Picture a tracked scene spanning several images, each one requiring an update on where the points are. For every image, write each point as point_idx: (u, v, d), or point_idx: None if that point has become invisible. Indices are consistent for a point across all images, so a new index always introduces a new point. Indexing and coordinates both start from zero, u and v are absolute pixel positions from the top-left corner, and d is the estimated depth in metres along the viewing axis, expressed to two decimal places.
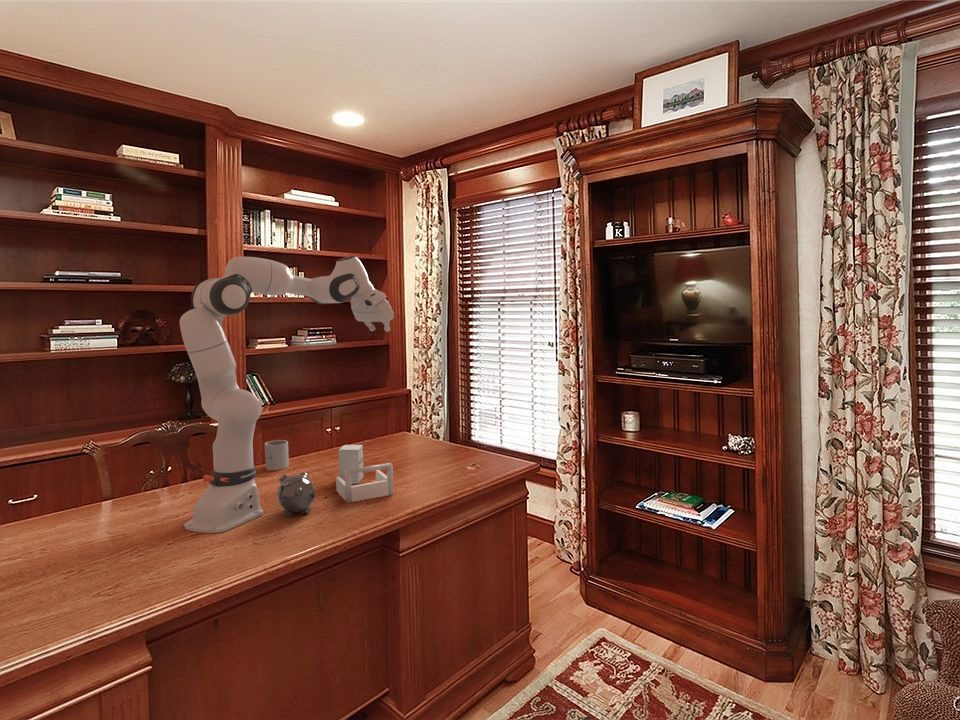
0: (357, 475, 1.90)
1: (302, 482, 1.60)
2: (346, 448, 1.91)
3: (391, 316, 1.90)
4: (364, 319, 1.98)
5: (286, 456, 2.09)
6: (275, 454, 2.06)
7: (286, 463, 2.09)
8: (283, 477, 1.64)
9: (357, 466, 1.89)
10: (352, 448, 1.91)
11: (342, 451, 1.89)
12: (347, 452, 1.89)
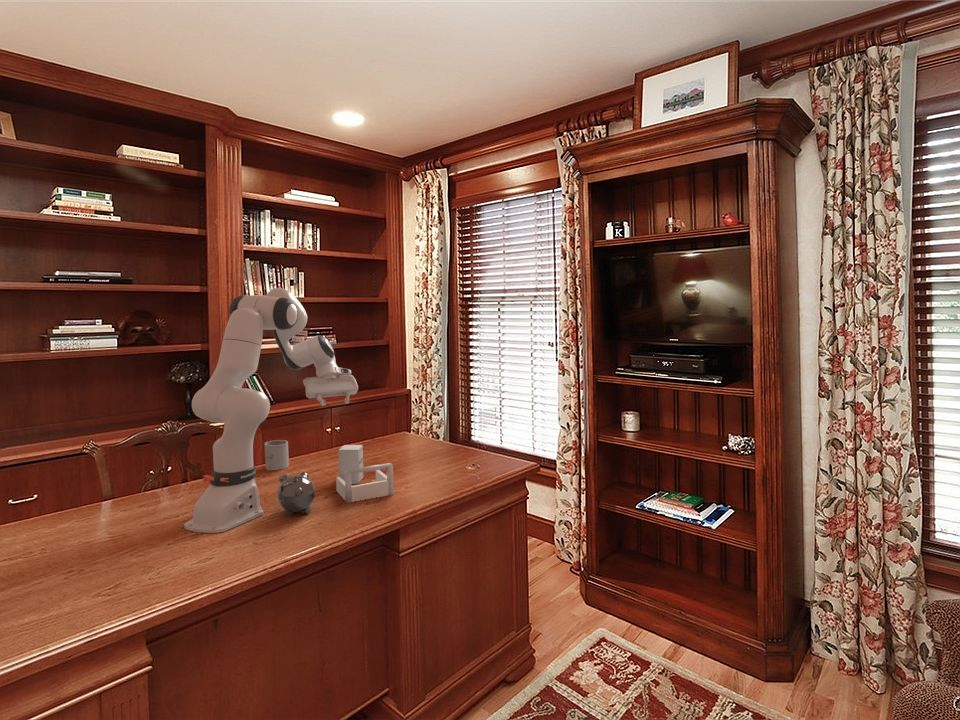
0: (357, 475, 1.90)
1: (302, 482, 1.60)
2: (346, 448, 1.91)
3: None
4: (323, 390, 2.07)
5: (286, 456, 2.09)
6: (275, 454, 2.06)
7: (286, 463, 2.09)
8: (283, 477, 1.64)
9: (357, 466, 1.89)
10: (352, 448, 1.91)
11: (342, 451, 1.89)
12: (347, 452, 1.89)
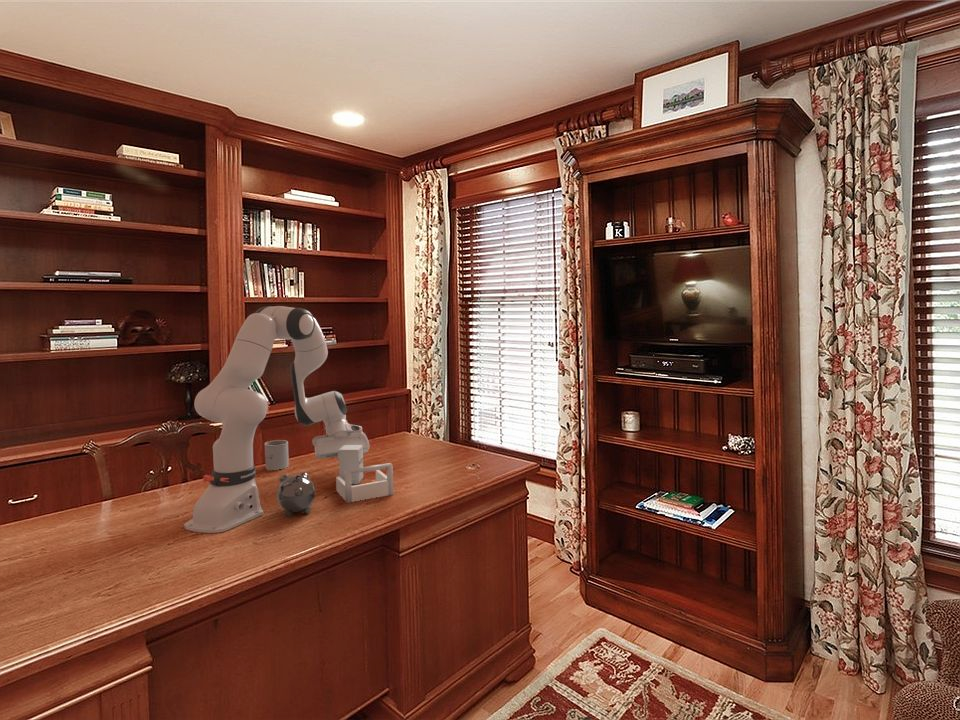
0: (357, 475, 1.90)
1: (302, 482, 1.60)
2: (346, 448, 1.91)
3: None
4: (333, 450, 1.97)
5: (286, 456, 2.09)
6: (275, 454, 2.06)
7: (286, 463, 2.09)
8: (283, 477, 1.64)
9: (357, 466, 1.89)
10: (352, 448, 1.90)
11: (342, 451, 1.89)
12: (347, 452, 1.89)
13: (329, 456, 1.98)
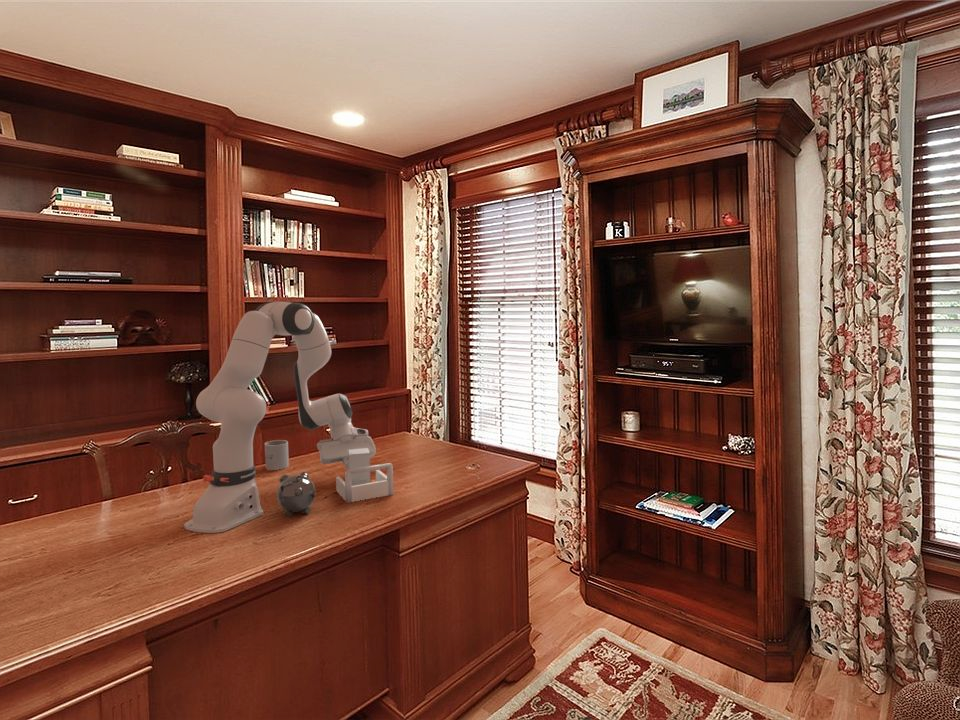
0: (369, 479, 1.85)
1: (302, 482, 1.60)
2: (356, 452, 1.85)
3: None
4: (338, 454, 1.91)
5: (286, 456, 2.09)
6: (275, 454, 2.06)
7: (286, 463, 2.09)
8: (283, 477, 1.64)
9: None
10: (362, 452, 1.85)
11: (353, 455, 1.83)
12: (358, 456, 1.83)
13: (334, 461, 1.92)
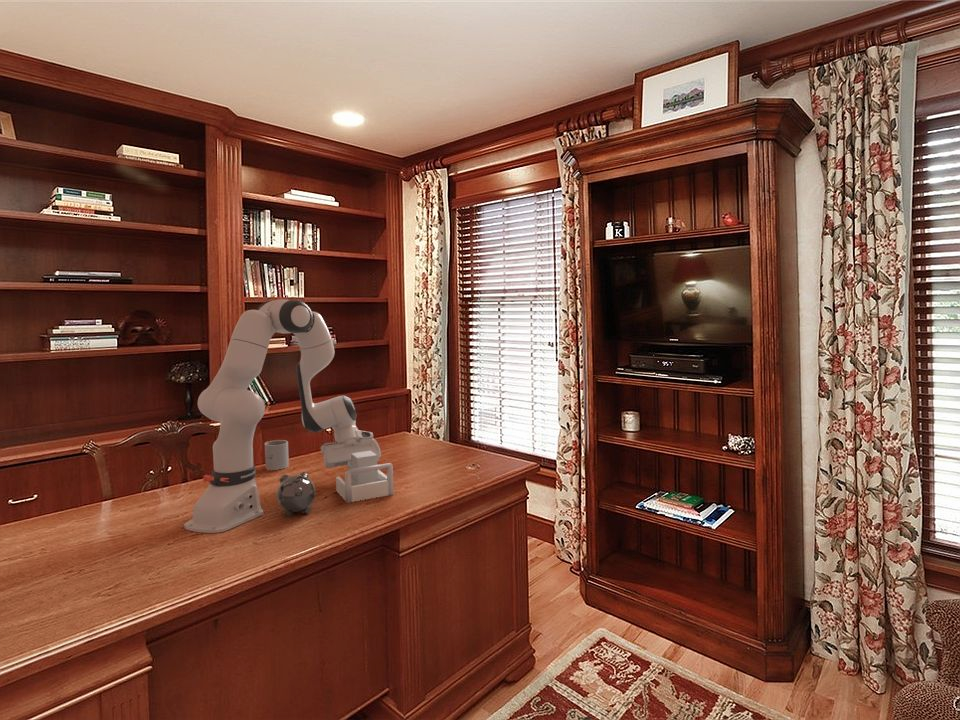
0: None
1: (302, 482, 1.60)
2: (362, 455, 1.81)
3: None
4: (343, 458, 1.87)
5: (286, 456, 2.09)
6: (275, 454, 2.06)
7: (286, 463, 2.09)
8: (283, 477, 1.64)
9: (376, 472, 1.82)
10: (369, 454, 1.82)
11: (361, 459, 1.79)
12: (366, 459, 1.80)
13: (339, 464, 1.88)
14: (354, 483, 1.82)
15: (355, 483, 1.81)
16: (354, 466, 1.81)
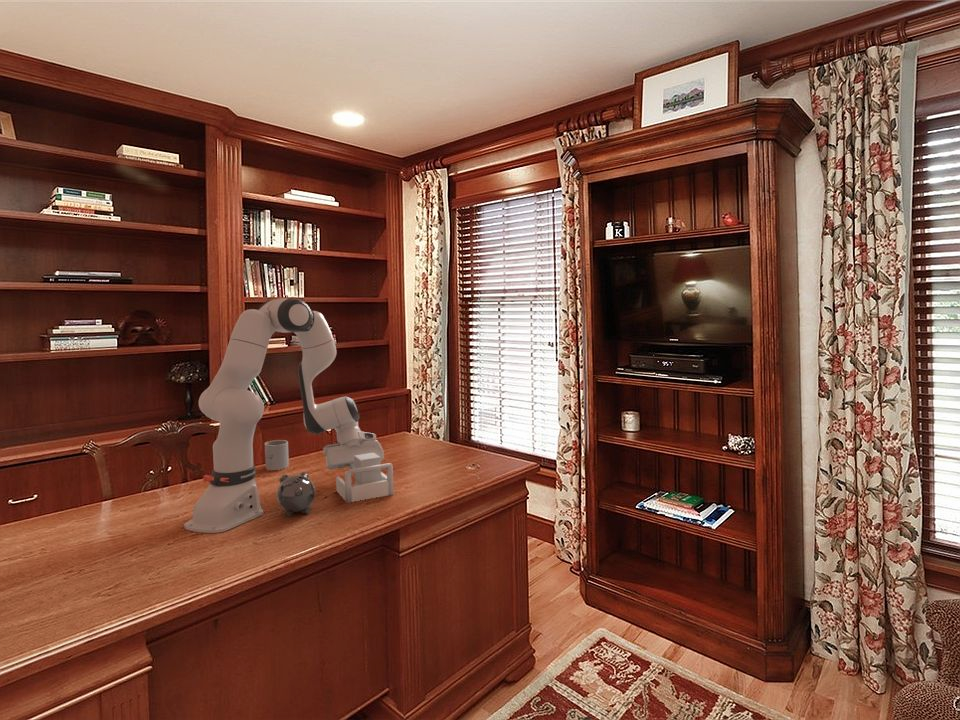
0: None
1: (302, 482, 1.60)
2: (366, 457, 1.79)
3: None
4: (346, 460, 1.84)
5: (286, 456, 2.09)
6: (275, 454, 2.06)
7: (286, 463, 2.09)
8: (283, 477, 1.64)
9: (380, 474, 1.80)
10: (372, 456, 1.79)
11: (365, 461, 1.76)
12: (370, 461, 1.77)
13: (341, 466, 1.85)
14: None
15: None
16: None
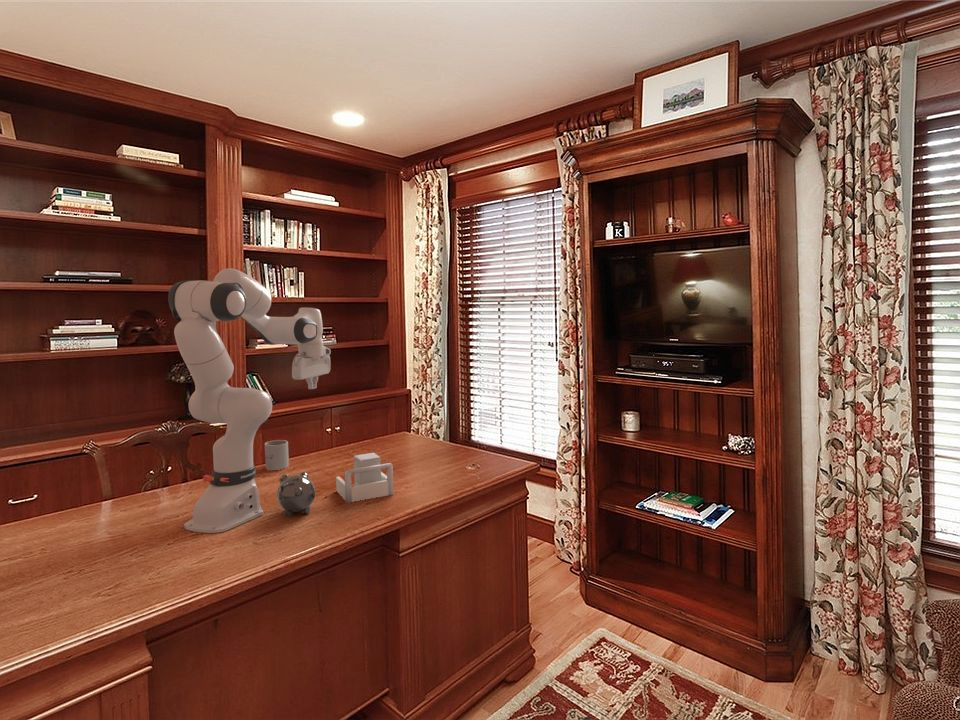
0: None
1: (302, 482, 1.60)
2: (366, 457, 1.79)
3: None
4: (310, 374, 1.92)
5: (286, 456, 2.09)
6: (275, 454, 2.06)
7: (286, 463, 2.09)
8: (283, 477, 1.64)
9: (380, 474, 1.80)
10: (372, 457, 1.80)
11: (364, 461, 1.76)
12: (370, 461, 1.77)
13: None
14: None
15: None
16: None
